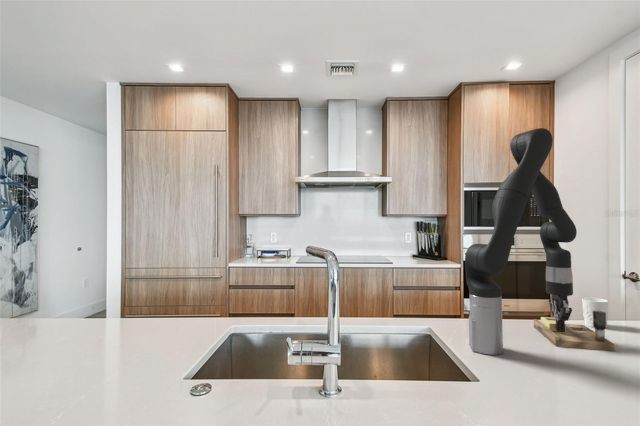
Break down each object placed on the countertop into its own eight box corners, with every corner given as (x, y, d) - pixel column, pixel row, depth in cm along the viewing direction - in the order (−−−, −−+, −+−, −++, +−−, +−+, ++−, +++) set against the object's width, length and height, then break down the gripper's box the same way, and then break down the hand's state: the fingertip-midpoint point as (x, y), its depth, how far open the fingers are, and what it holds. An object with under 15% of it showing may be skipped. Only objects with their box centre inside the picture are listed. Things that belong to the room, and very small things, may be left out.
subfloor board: (555, 346, 108) (555, 336, 108) (533, 327, 128) (533, 319, 128) (615, 350, 104) (614, 341, 104) (583, 330, 123) (582, 322, 124)
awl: (596, 341, 107) (596, 313, 107) (591, 338, 110) (590, 310, 110) (608, 342, 106) (608, 313, 106) (603, 338, 109) (602, 311, 109)
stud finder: (549, 330, 117) (549, 323, 117) (540, 323, 125) (540, 316, 125) (566, 331, 116) (565, 324, 116) (556, 324, 123) (556, 317, 123)
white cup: (577, 323, 131) (576, 298, 131) (591, 321, 133) (591, 296, 134) (599, 330, 123) (598, 302, 124) (614, 327, 126) (613, 301, 126)
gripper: (539, 276, 122) (540, 324, 122) (554, 283, 110) (555, 336, 109) (563, 277, 120) (564, 326, 120) (581, 284, 108) (582, 338, 107)
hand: (560, 331), depth 114 cm, fingers closed
